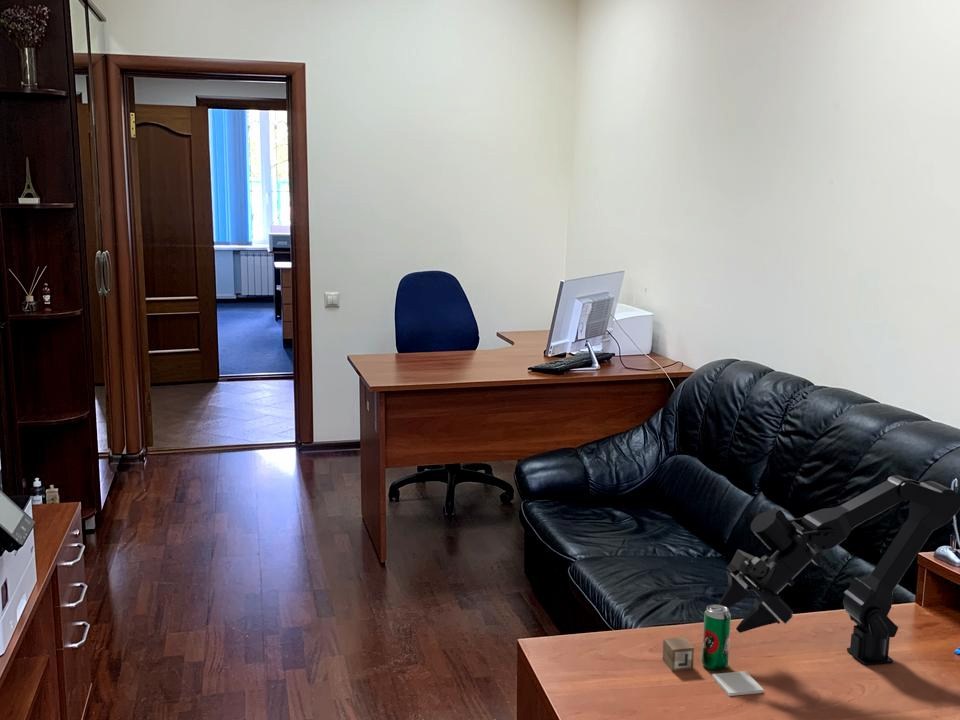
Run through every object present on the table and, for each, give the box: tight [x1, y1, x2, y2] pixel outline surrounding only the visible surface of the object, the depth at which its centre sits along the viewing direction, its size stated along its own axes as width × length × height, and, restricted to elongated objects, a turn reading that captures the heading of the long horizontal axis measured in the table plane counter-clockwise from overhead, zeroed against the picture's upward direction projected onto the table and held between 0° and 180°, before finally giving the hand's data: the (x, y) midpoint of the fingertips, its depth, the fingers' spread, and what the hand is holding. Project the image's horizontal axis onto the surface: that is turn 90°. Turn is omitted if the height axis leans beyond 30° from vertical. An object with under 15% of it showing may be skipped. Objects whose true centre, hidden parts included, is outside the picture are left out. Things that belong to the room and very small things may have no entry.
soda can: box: [701, 604, 732, 672], centre depth 174 cm, size 5×5×12 cm
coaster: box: [711, 670, 765, 697], centre depth 167 cm, size 7×7×1 cm
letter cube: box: [662, 636, 695, 672], centre depth 175 cm, size 4×5×4 cm
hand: (727, 620), depth 173 cm, fingers open, 9 cm apart
